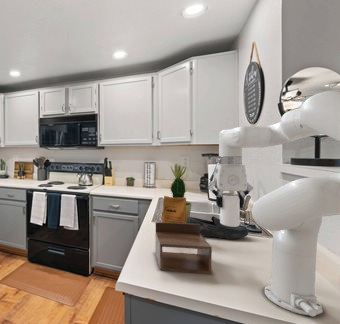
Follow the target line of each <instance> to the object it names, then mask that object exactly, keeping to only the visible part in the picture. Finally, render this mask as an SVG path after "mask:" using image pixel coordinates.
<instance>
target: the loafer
mask: <svg viewBox="0 0 340 324" xmlns="http://www.w3.org/2000/svg"><path fill="white" fill-rule="evenodd" d="M187 223H188V224H200V235H201V236H202V237H203V238H207V237H215V238H221V239H224V240H237V239H242V238H245V237H247V236H248V235H249V231H248V229H247V227H246V226H244V225H239V226H238V227H229V226H224V225H222V224H221V223H220V218H218V217H216V216H214V215H213V216H212V217H211V219H210V220H208V219H203V218H198V217H193V216H190V217H188V221H187Z"/></svg>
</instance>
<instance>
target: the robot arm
mask: <svg viewBox="0 0 340 324" xmlns="http://www.w3.org/2000/svg"><path fill="white" fill-rule="evenodd" d="M319 135H325V136H327V137H330V138H332V139H334V140H336V141H338V142H340V90H325V91H321V92H318V93H316V94H313V95H312V96H310V97H308V98H307V99H306V100H305V101H304V102H303V103H302V105H300V107H298V108H294V109H291V110H288V111H286V112H285V113H284V114H282V116H281V118H280V122H277V123H273V124H269V125H265V126H261V125H260V126H259V125H258V126H257V125H255V126H254V125H243V126H237V127H234V128H226V129H222V130H220V131H219V135H218V157H217V158H215V159H214V161H215V163H218V164H217V165H216V167H215V174H214V181H212V182H211V183H210V184H208V186H207V189H208V190H209V191H210V192H211V193H212V194H213V195H214V196H215V204H216V205H217V207H218V208H219V209H220V208H222V197H221V195H222V193H224V192H236V194H238V197H239V199H240V209H243V207H244V205H245V198H246V197H247V196H248V194H250V192H252V191H253V190H254V187H253V186H252V185H251V184H250V183H249V182H248V178H247V177H248V176H247V171H246V166H245V164H243V149H244V148H245V149H248V148H252V149H253V148H254V149H255V148H258V149H259V148H261V149H262V148H269V147H275V146H279V145H284V144H287V143H288V144H289V143H291V142H295V141H297V140H300V139H304V138H310V137H315V136H319ZM339 215H340V171H339V172H337V173H334V174H330V175H326V176H317V177H316V176H313V177H304V178H303V177H301V178H299V179H298V178H297V179H295V180H292V181H289V182H287V183H286V184H283V185H282V186H279V187H278V188H275V189H274V190H271V191H270V192H268V193H267V194H264V195H262V196H261V197H259V198H258V199H257V200H256V201H254V202H253V205H252V208H251V217H252V219H253V221H254V222H255V223H256V224H257V225H258V226H260V227H261V228H263V229H265V230H268V231H272V232H273V234H272V245H271V276H270V277H271V278H270V284H268V285H266V286H265V287H264V295H265V296H266V297H267V298H268V300H269V301H271V302H272V303H274V305H277V306H278V307H281V308H282V309H285V310H287V311H290V312H292V313H294V314H295V313H296V314H299V315H304V316H310V317H316V316H318V315H321V314H322V313H323V312H324V309H323V306H322V304H321V303H320V301H319V300H318V297H317V296H316V269H317V249H318V248H317V247H318V237H319V233H320V229H321V225H322V222H323V218H324V217H331V216H332V217H333V216H339Z"/></svg>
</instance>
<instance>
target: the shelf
mask: <svg viewBox="0 0 340 324" xmlns="http://www.w3.org/2000/svg"><path fill="white" fill-rule="evenodd" d="M154 242H155V245H154V246H155V249H154V251H155V254H154V255H155V258H156V261H157V265H158V267H159V270H160V271H167V272H169V271H170V272H182V273H193V274H194V273H195V274H206V275H207V274H208V275H212V257H213V255H212V253H213V250H212V248H213V247H212V245H210V243H209V242H208V241H207V240H206V239H205V237H203V236H201V235H200V224H188V223H164V222H162V221H156V222H155V241H154ZM163 248H177V249H191V250H193V249H196V252H197V253H188V252H187V253H186V252H174V251H173V252H171V251H170V252H169V251H163Z"/></svg>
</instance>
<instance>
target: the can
mask: <svg viewBox="0 0 340 324" xmlns="http://www.w3.org/2000/svg"><path fill="white" fill-rule="evenodd" d="M221 197H222V208H220V207H219V219H220V223H221V224H222V225H224V226H229V227H238V226H240V222H241V221H240V220H241V217H240V214H241V212H240V209H241V208H240V199H239V197H238V193H232V192H223V193H222V195H221Z"/></svg>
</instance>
